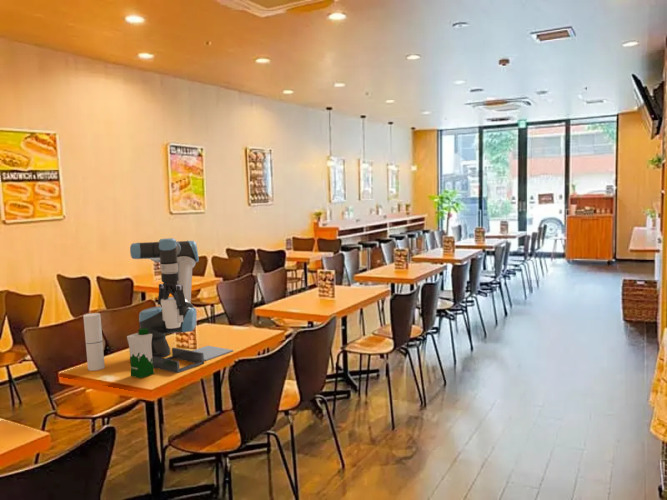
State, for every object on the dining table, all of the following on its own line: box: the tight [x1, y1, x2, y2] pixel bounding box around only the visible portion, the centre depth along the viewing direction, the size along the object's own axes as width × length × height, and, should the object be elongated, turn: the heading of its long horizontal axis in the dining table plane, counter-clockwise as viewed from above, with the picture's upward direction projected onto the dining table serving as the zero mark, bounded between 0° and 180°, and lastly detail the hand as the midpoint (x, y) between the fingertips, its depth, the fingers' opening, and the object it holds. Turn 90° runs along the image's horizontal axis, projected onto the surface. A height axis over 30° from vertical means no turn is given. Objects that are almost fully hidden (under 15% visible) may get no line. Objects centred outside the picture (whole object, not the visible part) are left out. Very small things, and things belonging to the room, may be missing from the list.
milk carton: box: [126, 328, 155, 379], centre depth 249 cm, size 9×9×20 cm
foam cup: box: [160, 296, 181, 329], centre depth 260 cm, size 10×9×13 cm
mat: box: [192, 345, 234, 362], centre depth 280 cm, size 18×18×1 cm
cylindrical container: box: [82, 312, 106, 372], centre depth 261 cm, size 7×7×25 cm
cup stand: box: [152, 347, 205, 374], centre depth 262 cm, size 20×15×5 cm
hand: (173, 321), depth 261 cm, fingers closed on foam cup, 9 cm apart
